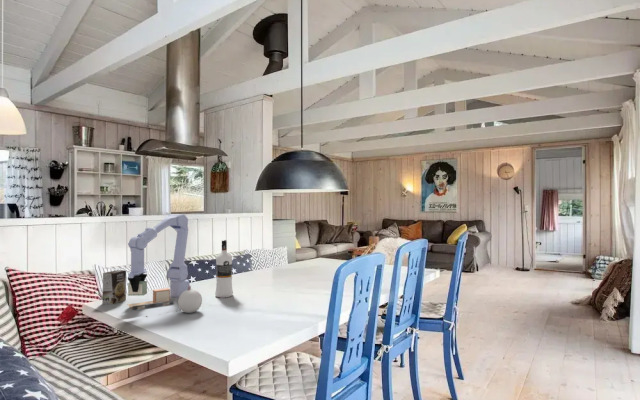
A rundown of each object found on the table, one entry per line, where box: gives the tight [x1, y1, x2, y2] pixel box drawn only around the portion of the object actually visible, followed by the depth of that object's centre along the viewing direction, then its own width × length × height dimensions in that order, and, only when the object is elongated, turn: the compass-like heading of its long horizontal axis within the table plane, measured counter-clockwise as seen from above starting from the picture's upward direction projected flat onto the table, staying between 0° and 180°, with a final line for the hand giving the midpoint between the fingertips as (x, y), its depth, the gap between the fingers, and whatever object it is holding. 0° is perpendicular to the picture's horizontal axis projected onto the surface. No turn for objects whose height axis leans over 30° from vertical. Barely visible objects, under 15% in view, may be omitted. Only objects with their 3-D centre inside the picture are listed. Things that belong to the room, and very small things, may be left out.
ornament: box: [177, 285, 203, 314], centre depth 174 cm, size 10×10×12 cm
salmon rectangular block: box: [152, 287, 171, 303], centre depth 189 cm, size 4×7×6 cm, turn 127°
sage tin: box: [127, 280, 148, 297], centre depth 182 cm, size 4×7×6 cm, turn 92°
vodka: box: [214, 239, 234, 299], centre depth 206 cm, size 9×9×30 cm
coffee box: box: [102, 269, 127, 305], centre depth 190 cm, size 9×6×16 cm
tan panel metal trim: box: [127, 300, 174, 311], centre depth 184 cm, size 18×13×3 cm
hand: (137, 290), depth 182 cm, fingers closed on sage tin, 4 cm apart
